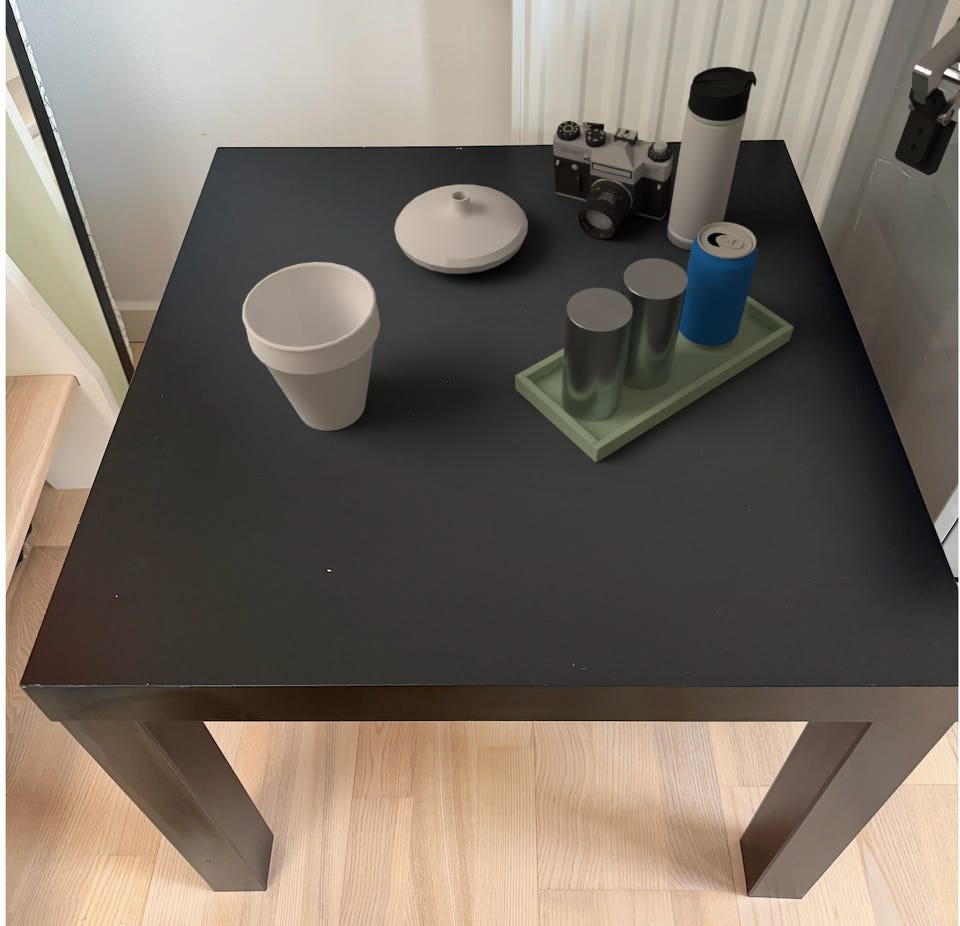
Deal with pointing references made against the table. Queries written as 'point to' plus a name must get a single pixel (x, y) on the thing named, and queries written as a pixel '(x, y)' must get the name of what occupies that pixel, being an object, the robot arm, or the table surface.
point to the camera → (611, 175)
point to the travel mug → (708, 151)
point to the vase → (461, 229)
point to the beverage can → (718, 283)
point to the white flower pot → (316, 338)
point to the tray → (647, 408)
